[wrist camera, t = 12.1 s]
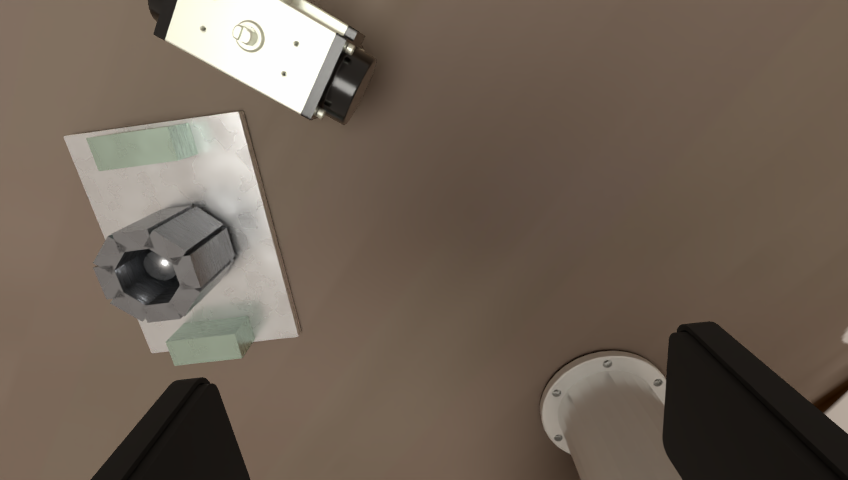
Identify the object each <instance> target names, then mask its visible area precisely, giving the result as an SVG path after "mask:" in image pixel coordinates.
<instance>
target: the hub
mask: <svg viewBox="0 0 848 480" xmlns="http://www.w3.org/2000/svg"><path fill="white" fill-rule="evenodd" d="M223 225H224V224H223V223H221V222H220V221H218V220H217V219H215V218H213V217H212V216H210V215H209V214H207V213H206V212H204V211H203V210H201V209H200V208H198V207H197V206H196V207H194V208H192V205H189V206H181V207H173V208H166V209H161V210H159V211H157V212H155V213H153V214H151V215H149V216H146V217H144V218H142V219H140V220H138V221H136V222H134V223H132V224H130V225H128V226H126V227H124V228H122V229H120V230H118V231H116V232H114V233H112V234H111V235H109V236H108V237H107V238H106V240H105V242H104V244H103V246H102V248H101V249H100V251H99V253H98V255H97V257H96V259H95V260H94V262H93V263H94V264H96V265H97V266H95V267H93V269H94V271H95V273H96V276H97V278H98V280H99V283H100V285H101V287H102V290H103V292H104V294H105V297H106V299H112V301H111V304H112V305H114V306H116V307H118V308H119V309H121V310H123V311H125V312H126V313H128V314H130V315H132V316H133V317H135V318H137V319H139V320H140V321H142V322H143V321H144V320H145V319H146V320H147V323H150V322H159V321H167V320H176V319H181V318H182V317H183V316H186V315H187V314H188V313H189V312H190V311H191V310H192V309H193V308H194V307H195V306H196V305H197V304H198V303H199V302H200V301H201V300H202V299H203V298H204V297H205V296H206V295H207V294H208V293H209V292H210V291H211V290H212V289H213V288H214V287H215V286H216V285H217V284H218V283H219V282H220V281H221V280H222V278H223V277H224V275H225V274H226V272H227V271H228V269H229V268H230V266H231V265H232V263H233V262H234V259H233V257H234V256H235V254H234V251H233V247H232V244H231V241H230V237H229V234H228V231H227V228H222V226H223ZM221 228H222V229H221ZM152 251H153V252H155V253H156V254H158V255H160V256H161V257H163V258H165V259H166V260H168V261H170V262H171V263H172V265H173V267H174V270H175V273H176V275H175V276H174V277H173V278H171V279H169V280H158V279H155V278H153V277H152V276H151V275H150V274H149V273H148V272H147V271H146V269H145V266H144V260H145V257H146V256H147V255H148V254H149V253H150V252H152Z"/></svg>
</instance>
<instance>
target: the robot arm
mask: <svg viewBox="0 0 848 480" xmlns="http://www.w3.org/2000/svg"><path fill="white" fill-rule="evenodd" d="M540 416H541V421H542V424H543V426H544V429H545V432H546V433H547V435H548V437H549V438H550V440H551V441H552V442H553V443H554V444H555V445H556V446H557V447H559V448H560V449H562V450H563V451H564V452H566V453H569V454H571V456H572V458H573V461H574V464H575V466H576V469H577V471H578V474H579V477H580V479H581V480H848V434H847V433H846V432H845V431H844V430H842V429H841V428H840V427H839V426H838V425H836V424H835V423H834V422H833V421H832V420H831V419H829V418H828V417H827V416H826V415H825V414H823V413H822V412H821V411H820V410H819V409H817V408H816V407H815V406H814V405H813V404H812V403H810V402H809V401H808V400H807V399H806V398H804V397H803V396H802V395H801V394H800V393H798V392H797V391H796V390H795V389H794V388H792V387H791V386H790V385H789V384H788V383H787V382H785V381H784V380H783V379H782V378H781V377H779V376H778V375H777V374H776V373H775V372H773V371H772V370H771V369H770V368H769V367H768V366H766V365H765V364H764V363H763V362H762V361H760V360H759V359H758V358H757V357H756V356H754V355H753V354H752V353H751V352H750V351H748V350H747V349H746V348H745V347H744V346H743V345H741V344H740V343H739V342H738V341H737V340H735V339H734V338H733V337H732V336H731V335H729V334H728V333H727V332H726V331H725V330H724V329H722V328H721V327H720V326H719V325H718V324H716V323H714V322H710V321H709V322H700V323H691V324H682V325H680V326H679V327H678V329H677V333H672V334H671V335H670V337H669V347H668V361H667V376H666V379H665V377H664V376H663V374H662V373H661V372H660V371H659V370H658V368H657V367H656V366H655V365H653V364H652V363H651V362H649V361H648V360H647V359H645V358H643V357H641V356H638V355H636V354H632V353H628V352H622V351H601V352H596V353H592V354H588V355H585V356H583V357H580V358H578V359H576V360H574V361H572V362H570V363H569V364H567V365H565V366H564V367H563V368H562V369H561V370H559V371H558V372H557V373H556V374H555V375H554V376H553V378H552V379H551V380H550V381H549V382H548V384H547V386H546V388H545V390H544V391H543V394H542V398H541V401H540ZM91 480H250V477H249V474H248V471H247V469H246V466H245V463H244V460H243V457H242V455H241V452H240V449H239V446H238V443H237V441H236V438H235V435H234V432H233V430H232V427H231V424H230V421H229V418H228V416H227V413H226V410H225V407H224V404H223V402H222V399H221V396H220V393H219V390H218V388H217V386H216V385H215V384H210V382H209V381H208V380H207V379H206V378H203V377H202V378H193V379H184V380H177V381H174V382H173V383H172V384H170V386H169V387H168V388H167V389H166V390H165V391H164V393H163V394H162V395H161V396H160V397H159V399H158V400H157V401H156V402H155V403H154V405H153V406H152V407H151V408H150V409H149V411H148V412H147V413H146V414H145V415H144V417H143V418H142V419H141V420H140V421H139V423H138V424H137V425H136V426H135V427H134V429H133V430H132V431H131V432H130V433H129V435H128V436H127V437H126V438H125V439H124V441H123V442H122V443H121V444H120V445H119V446H118V448H117V449H116V450H115V451H114V452H113V454H112V455H111V456H110V457H109V458H108V460H107V461H106V462H105V463H104V464H103V466H102V467H101V468H100V469H99V470H98V472H97V473H96V474H95V475H94V476H93V478H92V479H91Z"/></svg>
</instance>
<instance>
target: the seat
mask: <svg viewBox="0 0 848 480" xmlns="http://www.w3.org/2000/svg"><path fill="white" fill-rule="evenodd" d="M63 137H64V139H65V142H66V144H67V147H68V149H69V151H70V154H71V156H72V159H73V161H74V164H75V166H76V169H77V171H78V174H79V176H80V179H81V181H82V183H83V186H84V188H85V191H86V193H87V196H88V198H89V201H90V203H91V206H92V208H93V210H94V213H95V215H96V218H97V220H98V223H99V225H100V228H101V230H102V233H103V235H104V237H105V240H106V238H107V237H108V236H109V235H111V234H112V233H114V232H116V231H118V230H120V229H122V228H124V227H126V226H128V225H130V224H132V223H134V222H136V221H138V220H140V219H142V218H144V217H146V216H149V215H151V214H153V213H155V212H157V211H159V210H161V209H166V208H173V207H181V206H189V205H192V208H194V207H196V206H197V207H198V208H200V209H201V210H203V211H204V212H206V213H207V214H209V215H210V216H212V217H213V218H215V219H217V220H218V221H220V222H221V223H223V224H224V225H223V226H222V228H227V231H228V234H229V237H230V241H231V244H232V247H233V251H234V254H235V256H234V257H233V259H234V262H233V263H232V265H231V266H230V268H229V269H228V271H227V272H226V274H225V275H224V277H223V278H222V280H221V281H220V282H219V283H218V284H217V285H216V286H215V287H214V288H213V289H212V290H211V291H210V292H209V293H208V294H207V295H206V296H205V297H204V298H203V299H202V300H201V301H200V302H199V303H198V304H197V305H196V306H195V307H194V308H193V309H192V310H191V311H190V312H189V313H188V314H187V315H186V316H183V317H182V318H181V319H176V320H167V321H159V322H150V323H147V320H146V319H145V320H144V321H143V322H142V321H140V320H139V319H138V321H139V323H140V326H141V328H142V331H143V333H144V336H145V338H146V341H147V343H148V345H149V348H150V350H151V353H158V352H167V351H169V352H170V355H171V358H172V360H173V363H174V365H175V366H176V365H185V364H194V363H203V362H212V361H221V360H230V359H239V358H243V356H244V355H245V353H246V352H247V350H248V349H249V347H250V346H251V344H252V343H253V342H255V341H264V340H273V339H281V338H290V337H298V336H299V334H300V332H301V327H300V324H299V320H298V316H297V312H296V308H295V305H294V301H293V297H292V293H291V289H290V286H289V282H288V278H287V274H286V271H285V267H284V263H283V259H282V255H281V252H280V248H279V244H278V240H277V236H276V233H275V229H274V225H273V221H272V217H271V214H270V210H269V206H268V202H267V198H266V195H265V191H264V187H263V183H262V179H261V176H260V172H259V168H258V164H257V160H256V157H255V153H254V149H253V145H252V142H251V138H250V134H249V130H248V126H247V123H246V119H245V115H244V111H238V112H231V113H224V114H217V115H210V116H203V117H195V118H188V119H181V120H174V121H167V122H160V123H153V124H146V125H138V126H131V127H124V128H117V129H110V130H103V131H96V132H89V133H82V134H74V135H68V136H63ZM222 228H221V229H222ZM144 266H145V269H146V271H147V272H148V273H149V274H150V275H151V276H152V277H153V278H155V279H158V280H169V279H171V278H173V277H174V276H175V275H176V273H175V270H174V267H173V265H172V263H171V262H170V261H168V260H166V259H165V258H163V257H161V256H160V255H158V254H156V253H155V252H153V251H152V252H150V253H149V254H148V255H147V256H146V257H145V260H144Z"/></svg>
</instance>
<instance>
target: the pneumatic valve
mask: <svg viewBox="0 0 848 480" xmlns="http://www.w3.org/2000/svg"><path fill="white" fill-rule="evenodd" d="M148 5H149V10H150V13H151V15H152V16H153V18H154V19H155V20H156V21H157V24H156V27H155V31H154V35H155V36H157V37H159V38H161V39H163V40H165V41H166V42H168V43H170V44H172V45H174V46H176V47H177V48H179V49H181V50H183V51H185V52H187V53H188V54H190V55H192V56H194V57H196V58H198V59H199V60H201V61H203V62H205V63H207V64H208V65H210V66H212V67H214V68H216V69H218V70H219V71H221V72H223V73H225V74H227V75H229V76H230V77H232V78H234V79H236V80H238V81H240V82H241V83H243V84H245V85H247V86H249V87H251V88H252V89H254V90H256V91H258V92H260V93H262V94H263V95H265V96H267V97H269V98H271V99H272V100H274V101H276V102H278V103H280V104H282V105H283V106H285V107H287V108H289V109H291V110H293V111H294V112H296V113H298V114H300V115H302V116H304V117H305V118H307V119H309V120H313V119H316V118H320V119H322V118H323V117H324V115H326V116H328V117H330V118H332V119H333V120H335V121H337V122H339V123H341V124H342V125H345V124H346V123H347V122H348V121H349V120H350V118H351V117H352V115H353V114H354V112H355V110H356V109H357V107H358V105H359V103H360V101H361V99H362V97H363V95H364V93H365V91H366V89H367V87H368V85H369V82H370V80H371V78H372V75H373V73H374V70H375V67H376V63H377V59H376V58H375V57H373V56H371V55H370V54H368V53H366V52H364V50H363V49H362V48H363V46H361V44H362V42H363V40H364V38H365V36H364V35H363V34H361V33H360V32H359V31H357V30H355V29H354V28H352V27H350V26H349V25H347V24H345V23H344V22H342V21H340V20H339V19H337V18H335V17H334V16H332V15H330V14H328V13H327V12H325V11H323V10H322V9H320V8H318V7H317V6H315V5H313V4H312V3H310V2H308V1H307V0H148Z"/></svg>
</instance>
